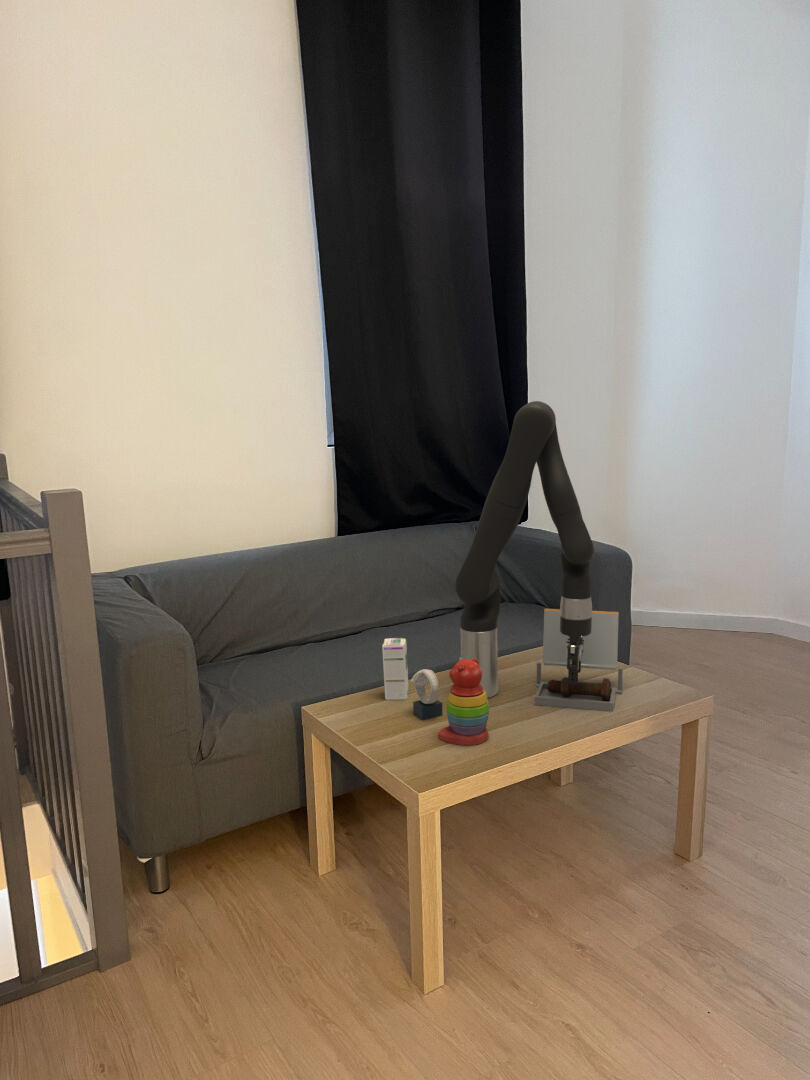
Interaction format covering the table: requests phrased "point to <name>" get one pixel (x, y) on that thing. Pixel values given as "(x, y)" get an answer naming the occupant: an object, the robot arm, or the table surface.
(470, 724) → the stacking bear
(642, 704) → the table surface
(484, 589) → the robot arm
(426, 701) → the watch
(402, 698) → the syrup box
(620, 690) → the housing
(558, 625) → the lid
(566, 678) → the bolt
